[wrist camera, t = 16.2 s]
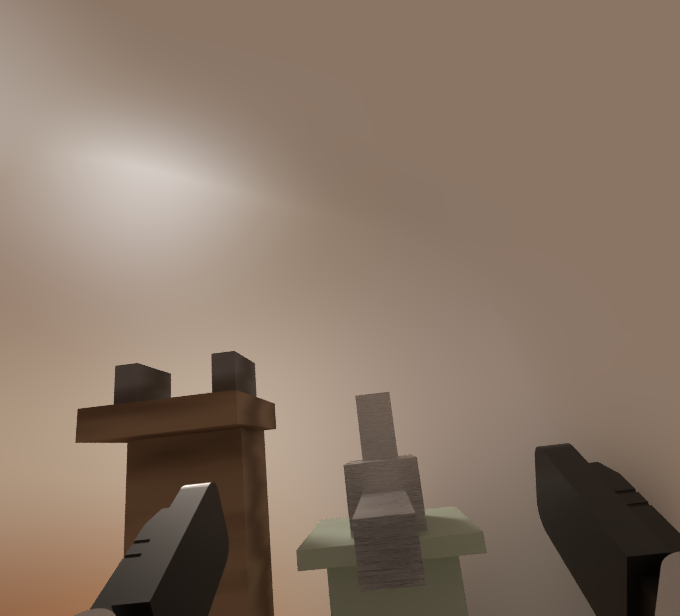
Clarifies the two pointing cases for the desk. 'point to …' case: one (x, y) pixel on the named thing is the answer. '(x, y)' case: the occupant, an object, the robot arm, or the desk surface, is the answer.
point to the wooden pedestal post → (197, 463)
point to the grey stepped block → (384, 503)
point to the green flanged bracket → (399, 603)
